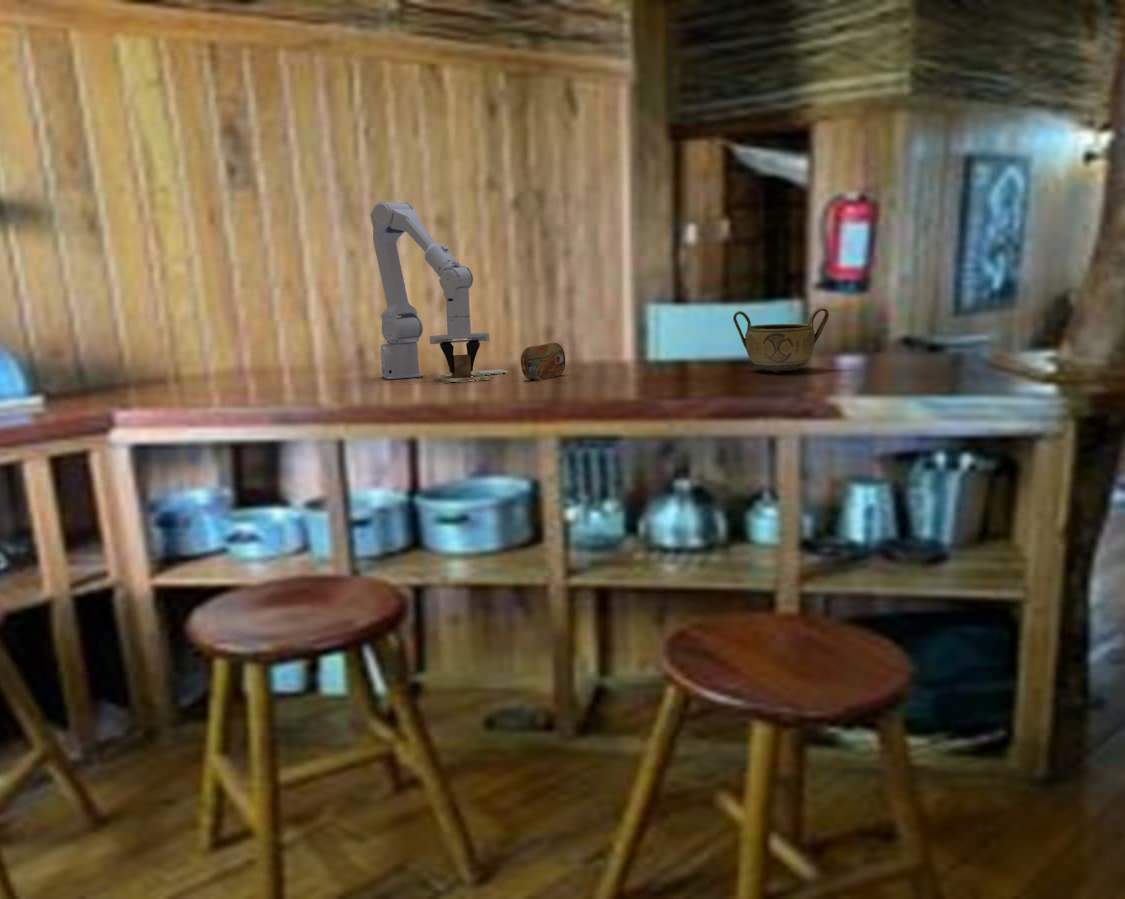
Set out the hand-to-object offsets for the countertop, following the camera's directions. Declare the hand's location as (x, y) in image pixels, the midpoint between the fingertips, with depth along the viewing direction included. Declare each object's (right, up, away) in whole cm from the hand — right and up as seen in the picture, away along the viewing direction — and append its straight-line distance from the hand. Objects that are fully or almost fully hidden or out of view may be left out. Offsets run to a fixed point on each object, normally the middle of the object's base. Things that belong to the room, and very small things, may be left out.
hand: (461, 371), depth 244 cm
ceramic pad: (+7, 0, +11) cm, 13 cm away
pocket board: (0, -2, 0) cm, 2 cm away
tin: (+21, -2, -2) cm, 21 cm away
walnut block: (0, -1, 0) cm, 2 cm away
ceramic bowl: (+78, -1, -7) cm, 78 cm away
